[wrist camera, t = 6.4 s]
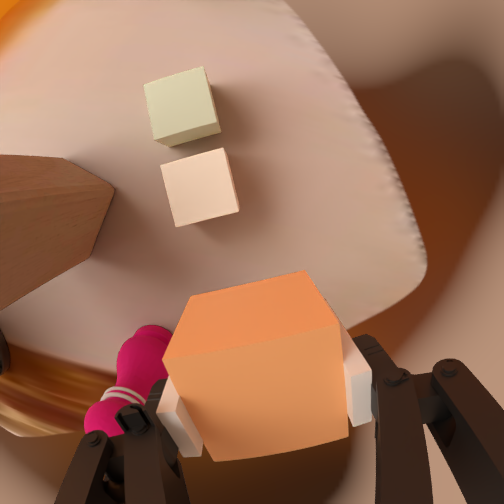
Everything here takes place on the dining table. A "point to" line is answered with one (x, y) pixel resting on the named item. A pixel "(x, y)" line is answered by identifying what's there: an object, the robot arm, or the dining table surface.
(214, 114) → the sage cube
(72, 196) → the wooden block
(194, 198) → the cream cube
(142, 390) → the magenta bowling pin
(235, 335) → the orange cube
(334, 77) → the dining table surface
